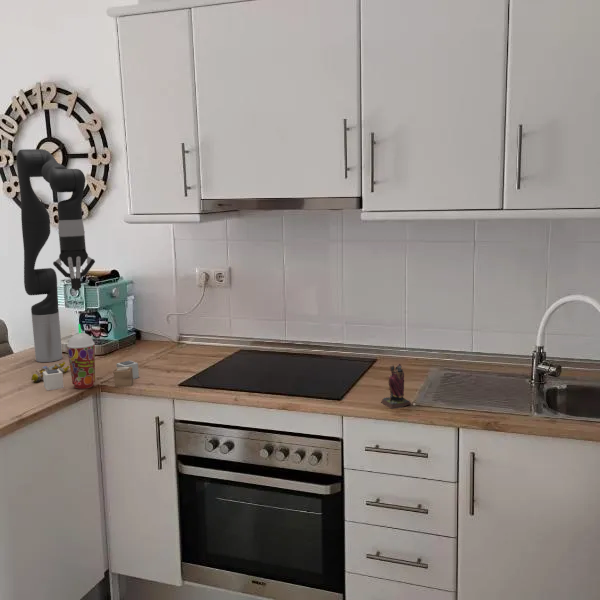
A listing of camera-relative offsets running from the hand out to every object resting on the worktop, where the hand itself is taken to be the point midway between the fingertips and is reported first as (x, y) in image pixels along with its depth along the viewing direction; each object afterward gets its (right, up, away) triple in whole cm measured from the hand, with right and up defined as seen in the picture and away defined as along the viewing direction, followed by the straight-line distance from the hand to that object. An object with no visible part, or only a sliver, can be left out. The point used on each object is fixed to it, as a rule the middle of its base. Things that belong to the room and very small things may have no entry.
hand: (76, 290), depth 218 cm
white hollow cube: (-8, -31, +2) cm, 32 cm away
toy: (-13, -29, +14) cm, 35 cm away
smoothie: (+2, -30, +2) cm, 31 cm away
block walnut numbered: (+14, -30, +4) cm, 33 cm away
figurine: (+97, -33, -21) cm, 104 cm away
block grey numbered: (+13, -29, +11) cm, 33 cm away
